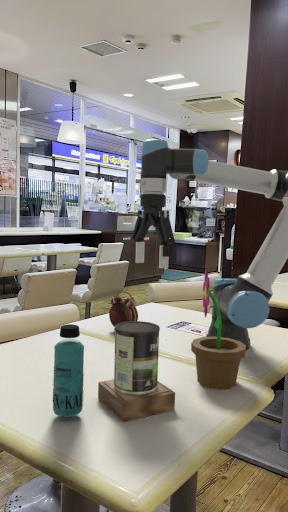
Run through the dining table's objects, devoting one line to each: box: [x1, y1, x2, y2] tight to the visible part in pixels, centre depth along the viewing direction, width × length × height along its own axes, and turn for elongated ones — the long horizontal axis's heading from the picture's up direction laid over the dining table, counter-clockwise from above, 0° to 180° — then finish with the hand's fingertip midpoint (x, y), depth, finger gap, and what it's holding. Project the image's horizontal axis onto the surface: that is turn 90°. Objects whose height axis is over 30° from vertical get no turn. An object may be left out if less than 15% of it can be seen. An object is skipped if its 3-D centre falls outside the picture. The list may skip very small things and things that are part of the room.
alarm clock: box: [108, 291, 139, 331], centre depth 159 cm, size 11×5×15 cm, turn 58°
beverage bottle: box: [51, 324, 85, 418], centre depth 90 cm, size 6×7×20 cm
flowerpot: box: [190, 268, 247, 390], centre depth 112 cm, size 14×14×30 cm
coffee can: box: [113, 320, 161, 395], centre depth 97 cm, size 10×10×14 cm
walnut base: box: [97, 378, 176, 423], centre depth 98 cm, size 13×13×4 cm
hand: (151, 265), depth 127 cm, fingers open, 13 cm apart
